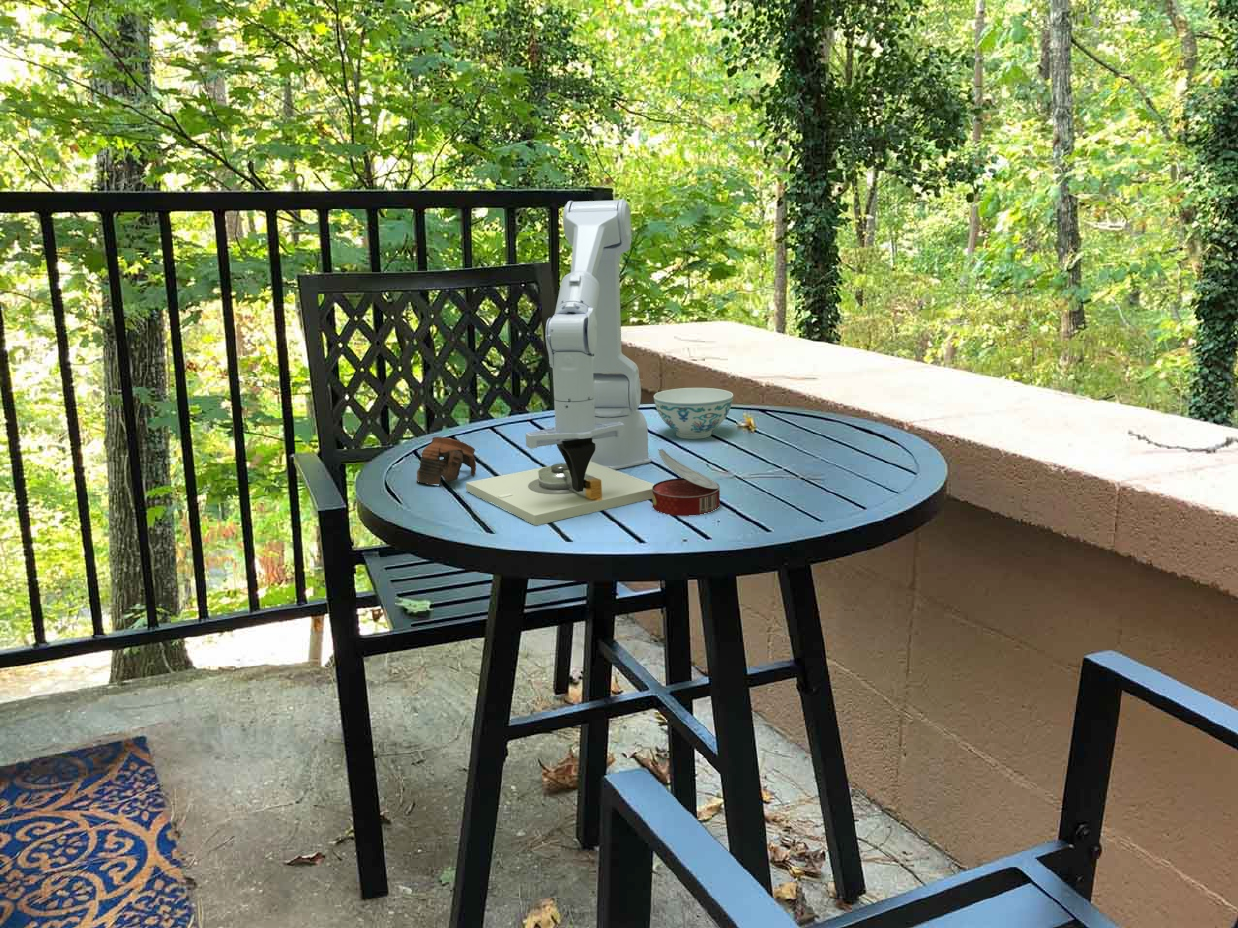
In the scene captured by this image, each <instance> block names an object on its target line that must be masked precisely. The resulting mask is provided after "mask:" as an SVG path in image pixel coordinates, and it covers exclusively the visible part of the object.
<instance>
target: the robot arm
mask: <svg viewBox="0 0 1238 928" xmlns="http://www.w3.org/2000/svg"><path fill="white" fill-rule="evenodd" d="M631 221H632V219H631V209H630V204H629V203H628V202H627V201H626V199H624V198H622V199H621V198H620V199H618V200H594V201H593V200H589V201H588V200H587V201H573V200H569V201H567V203H565V205H564V207H563V213H562V226H563V233H564V236H565V239H566V240H567V241H568V244H569V245H570V246H572V252H571V253H572V254H571V264H570V265H571V266H570V272H569V273H567V274H566V275H563V278H562V279H561V283H560V287H559V290H558V297H557V302H556V305H555V311H554V315H552V317H548V319H547V320H546V325H545V345H546V350H547V353H548V360H549V361H548V363H549V367H550V368H552V376H553V377H552V382H553V400H554V401H553V403H554V404H553V405H554V423H555V427H551V428H546V429H541V430H536V431H530V432H526V433H525V445H526V447H527V448H529V449H530V450H532V449H538V448H540V447H544V446H545V447H546V446H554V445H556V446H557V449H558V450H559V452H560V455H562V458H563V460H564V461H565V462H564V463H566V464H567V467H568V469H569V472H570V475H571V478H572V488H573V489H574V490H575V491H577V492H581V491H583V486H584V484H583V481H584V477H585V473H586V470H587V467H588V464H589V462H590V461H591V462H594V463H596V464H599V465H602V466H605V467H608V468H610V469H613V470H619V469H625V468H630V467H635V466H639V465H643V464H648V463H651V462H652V459H651V458H649V436H648V435H649V433H648V431H649V430H648V423H647V418H646V417H645V414H644V413H643V412H642V411H640V409H639V407H640V405H641V398H642V386H641V379H640V370H639V369H640V368H639V367H638V365H637V363H635V362H634V360H632V359H630V358H629V357H627V356H626V355H625V354H623V353H622V351H623V350H622V325H621V324H622V323H621V322H622V321H621V296H620V295H621V292H620V291H621V290H620V289H621V287H620V262H621V255H623V254H624V253H627V252H628V251H631V245H632V222H631Z"/></svg>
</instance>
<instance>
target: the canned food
mask: <svg viewBox="0 0 1238 928" xmlns="http://www.w3.org/2000/svg"><path fill="white" fill-rule="evenodd" d="M657 450H658V454H659V457H660V458H661V460H662V461H663V463H664V464H665V465H666V466H667V467H668V468H669V469H670V470H671V471H673V473H675V474H676V475H677V476H679V477H680V478H671V479H665V480H661V481H658V482H657V483H654V484H655V485H654V486H653V487H652V495H653V499H652V508H654V511H656V512H658V511H659V512H658V513H660V512H662V513H661V514H663V513H665V514H664V515H668V514H670V515H669V516H678V517H690V516H689V515H696V516H701V515H700V514H703V515H705V514H704V513H707V514H709V513H708V512H711V511H713V510H715V509H717V508H718V507H719V506H720V505H721V504H720V502H721V501H720V499H721V498H720V495H721V493H720V492H721V491H720V489H721V488H720V485H719V483H717V482H716V481H714V480H713V479H711V478H710V477H708V476H705V475H703V473H700V472H699V471H696V470H695V469H692V468H690V467H689V466H687V465H685V464H683V463H681V462H679V461H678V460H677V459H675V458H673V457H672V456H671V455H669V454H668V453H667V452H666V450H665V449H663V448H661V449H657ZM720 507H721V506H720ZM720 507H719V508H720ZM719 508H718V509H719ZM718 509H717V510H718ZM713 512H714V511H713ZM711 513H712V512H711Z"/></svg>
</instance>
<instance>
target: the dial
mask: <svg viewBox="0 0 1238 928" xmlns="http://www.w3.org/2000/svg"><path fill="white" fill-rule="evenodd" d="M548 466H549V467H547V466H544V467H545V468H542V467H541V468H542V469H540V470H539V471H538V475H539V486H540V487H542V488H545V489H551V490H565V489H569V490H571V491H574V492H576V493H578V494H580V495H583V496H585V497H587V498H589V499H596V498H600V497H602V487H601V480H600V479H598V478H595V477H593V476H590V475H588V474H585V477H584V481H583V484H584V486H583V491H581V492H577V491H575V490H574V489H573V488H572V478H571V475H570V472H569V469H568V467H567V464H566V462H561V463H560V462H559V463H554V464H552V465H548Z"/></svg>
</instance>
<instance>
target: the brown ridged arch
mask: <svg viewBox="0 0 1238 928" xmlns="http://www.w3.org/2000/svg"><path fill="white" fill-rule="evenodd" d="M475 452H476V450H475V448H474V447H473V446H471V445H469V444H467V443H465V442H463V441H460V440H457V439H454V438H450V437H443V436H434V437H432V440H431V443H430V444H428V445H426V446H425V448H424V449H422V453H421V457H420V462H419V468H418V469H417V471H416V479H417V480H416V482H417V481H419V482H420V483H422V484H424V483H428V484H427V485H429V484H440V485H441V480H442V478H443V479H444V480H445V481H447V482H454V481H457V480H458V478H459V476H460V471H461V470H460V469H461V467H462V466H463V464H464V465H466V466H467V467H469V468H470V475H471V474H472V475H471V476H474V475H475V474H476V471H477V463H476V458H475V456H474V454H475ZM440 458H441V459H440ZM419 482H418V483H419Z"/></svg>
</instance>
